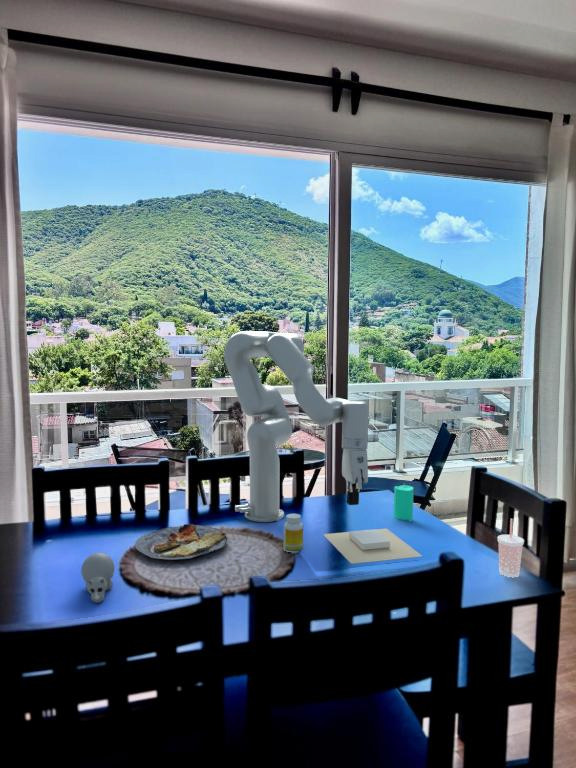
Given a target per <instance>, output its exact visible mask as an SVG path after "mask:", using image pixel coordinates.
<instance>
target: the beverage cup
mask: <svg viewBox="0 0 576 768" xmlns="http://www.w3.org/2000/svg"><path fill="white" fill-rule="evenodd" d="M509 523H510V524H509V534H501V535H498V536H497V542H498V569H499V571H498V572H500V573H499V575H501V574H502V575H504V576H503V577H505V576H507V577H506V578H509V577H512V578H511V579H515V578H514V577H517V578H519V577H520V572H521V571H520V570H521V561H522V554H523V553H522V552H523V545H524V544H525V539H524V538H523V537H521V536H518V535H513V518H510V521H509ZM502 575H501V576H502Z"/></svg>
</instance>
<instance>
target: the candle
mask: <svg viewBox="0 0 576 768" xmlns="http://www.w3.org/2000/svg"><path fill="white" fill-rule="evenodd" d="M414 489H415V488H414V487H413V486H411V485H406V484H403V485H399V486H398V485H397V486H394V488H393V490H394V492H393V518H395V519H397V520H404V521H409V522H410V523H412V522H413V520H414V519H413V518H414V517H413V516H414Z"/></svg>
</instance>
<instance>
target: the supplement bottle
mask: <svg viewBox="0 0 576 768" xmlns="http://www.w3.org/2000/svg"><path fill="white" fill-rule="evenodd" d="M285 519H286V520H285V523H284V524H283V541H282V544H283V545H282V549H283V551H284V552H285V551H286V553H288V552H292V553H291V554H299V553H301V549H303V547H304V525H303V522H301V521H302V516H301V514H298V513H289V514H287V515H285Z"/></svg>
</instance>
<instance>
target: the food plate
mask: <svg viewBox="0 0 576 768" xmlns="http://www.w3.org/2000/svg"><path fill="white" fill-rule="evenodd" d="M228 539H229V538H228V537H227V533H225V532H223V531H221V530H219V529H218V528H216V527H212V526H206V525H199V524H193V523H191V524H188V523H187V524H186V523H185V524H183V525H179V526H168V527H165V528H161V529H157V530H155V531H152V532H149V533H145V534H143V535H141V536H139V537H138V538H137V540H136V541H135V543H134V547H135V549H136V551H138V552H139V553H141V554H143V555H145V556H147V557H150V558H151V559H158V560H160V559H161V560H168V561H173V560H186V559H193V558H195V557H198V556H201V555H206V554H209V553H210V552H211V553H212V552H214V551H217V550H219V549H220V550H221V549H222V548H224V547H225V546H226V545H227V542H228ZM160 542H162V543H160ZM152 548H153V552H154V553H153V552H152ZM158 554H160V555H158Z"/></svg>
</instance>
